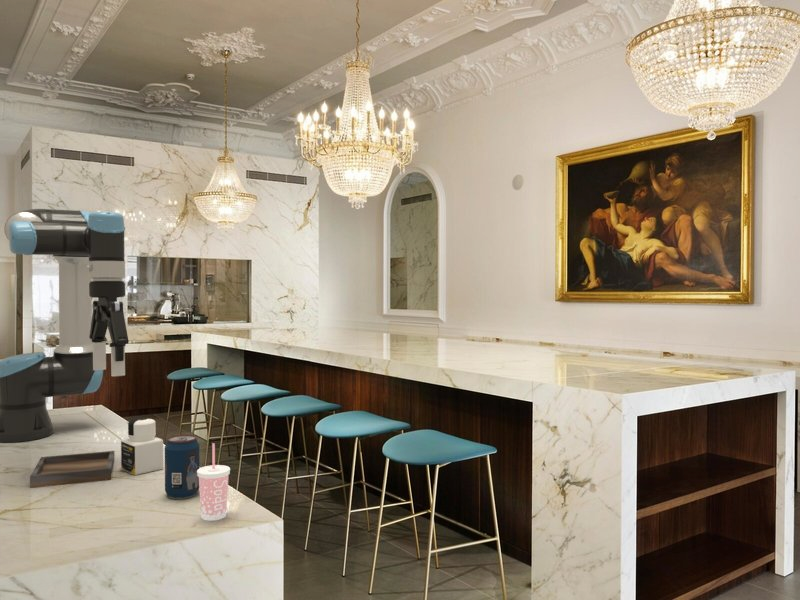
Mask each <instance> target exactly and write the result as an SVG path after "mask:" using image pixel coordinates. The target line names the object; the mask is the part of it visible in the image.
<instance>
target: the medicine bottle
mask: <svg viewBox="0 0 800 600" xmlns="http://www.w3.org/2000/svg"><path fill="white" fill-rule="evenodd" d="M156 423H157V422H156V420H155V419H154V418H152V417H137V418H136V417H135V418H133V419H131V420H129V421H128V423H127V434H128V435H127V436H128V438H125V439H124V438H123V439H121V440H120V463H121V467H120V469H121V470H123V471H125V472H127V473H129V474H131V475H133V476H137V475H143V474H147V473H150V472H151V473H152V472H155V471H159V470H163V469H164V440H163V439H162V438H160V437H157V436H156V435H157V434H156V429H157V427H156V426H157V425H156Z"/></svg>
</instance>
